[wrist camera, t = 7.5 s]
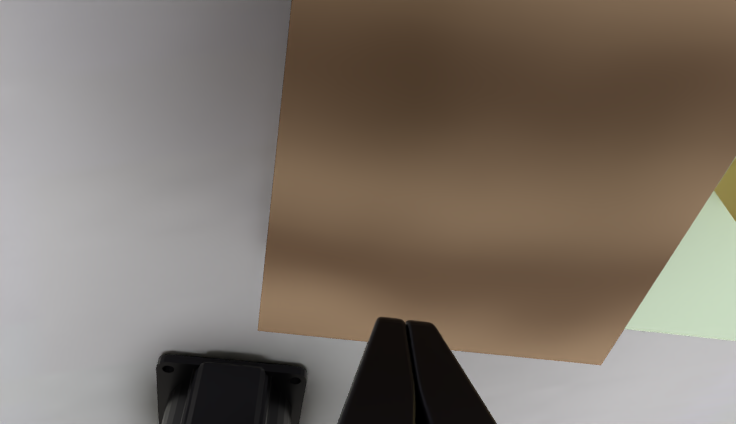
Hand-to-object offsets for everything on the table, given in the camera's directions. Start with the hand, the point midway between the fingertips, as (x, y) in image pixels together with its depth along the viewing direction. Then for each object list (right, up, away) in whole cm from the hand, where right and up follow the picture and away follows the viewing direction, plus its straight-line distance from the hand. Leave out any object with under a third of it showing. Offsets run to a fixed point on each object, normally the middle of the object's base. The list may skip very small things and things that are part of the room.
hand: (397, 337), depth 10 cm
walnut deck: (+4, +7, +9) cm, 12 cm away
